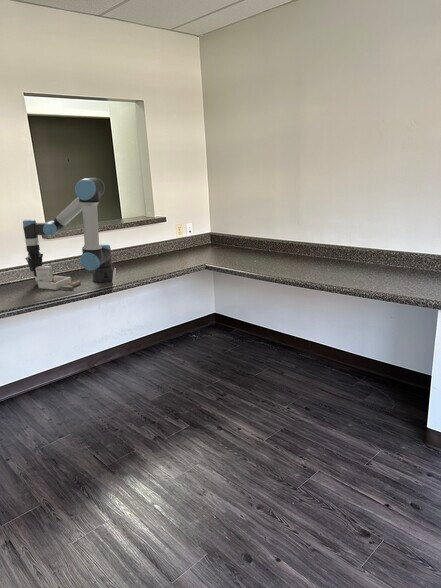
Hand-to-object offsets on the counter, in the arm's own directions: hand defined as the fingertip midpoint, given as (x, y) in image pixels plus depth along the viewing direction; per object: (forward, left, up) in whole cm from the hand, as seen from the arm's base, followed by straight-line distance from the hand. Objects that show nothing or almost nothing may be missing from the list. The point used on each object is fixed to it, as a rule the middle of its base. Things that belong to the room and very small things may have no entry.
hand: (38, 281), depth 283 cm
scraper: (-26, 0, -2) cm, 26 cm away
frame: (-13, 0, -2) cm, 13 cm away
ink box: (-6, 0, -2) cm, 7 cm away
